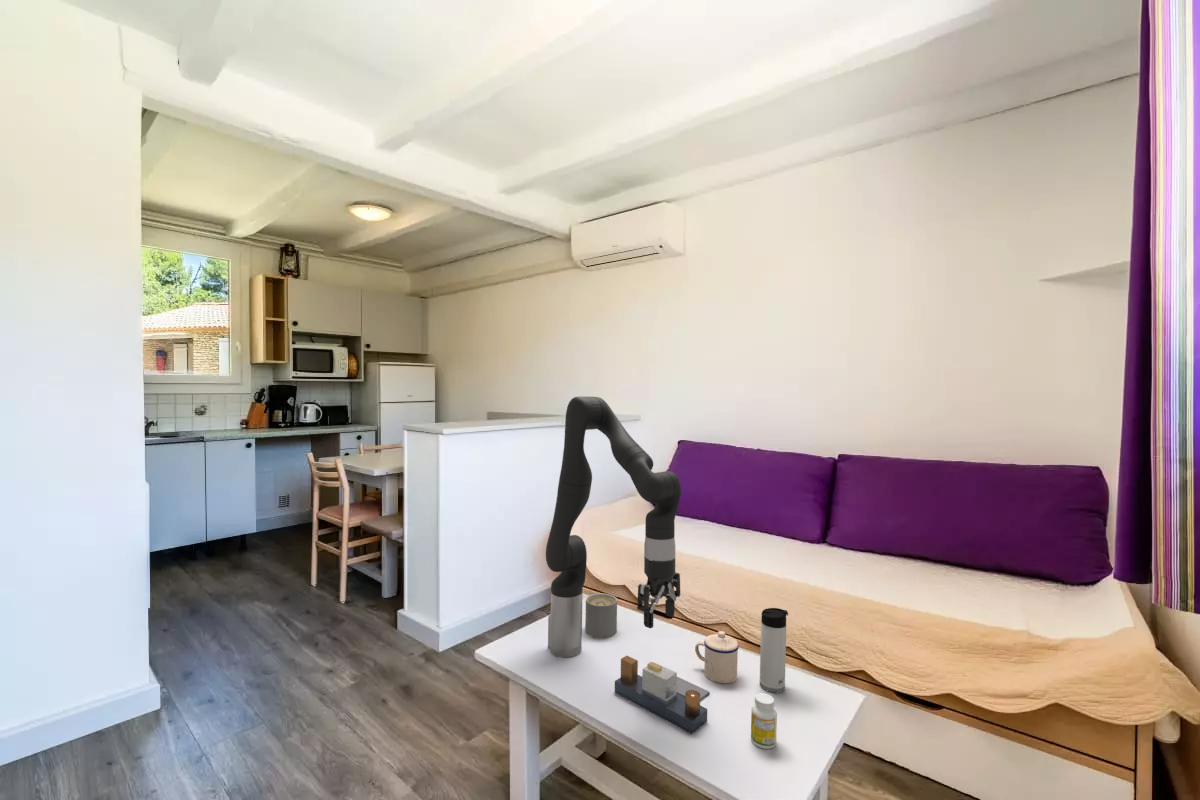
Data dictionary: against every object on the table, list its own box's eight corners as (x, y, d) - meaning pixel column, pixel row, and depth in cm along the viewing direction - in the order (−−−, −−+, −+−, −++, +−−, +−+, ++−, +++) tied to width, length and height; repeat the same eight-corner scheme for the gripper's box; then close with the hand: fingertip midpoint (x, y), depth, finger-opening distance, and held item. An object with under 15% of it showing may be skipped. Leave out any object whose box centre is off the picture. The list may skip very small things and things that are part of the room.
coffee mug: (601, 641, 160) (601, 608, 160) (578, 630, 167) (579, 599, 167) (630, 627, 170) (630, 596, 169) (607, 617, 176) (608, 588, 176)
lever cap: (642, 688, 128) (642, 665, 128) (653, 681, 132) (653, 658, 131) (665, 701, 124) (666, 676, 123) (676, 693, 127) (676, 669, 127)
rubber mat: (657, 684, 137) (657, 682, 137) (670, 675, 141) (670, 673, 141) (696, 704, 129) (696, 701, 129) (709, 693, 133) (709, 691, 133)
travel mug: (787, 694, 134) (789, 616, 133) (760, 691, 135) (762, 614, 134) (784, 681, 140) (786, 606, 139) (758, 678, 141) (760, 604, 140)
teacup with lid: (742, 673, 143) (743, 630, 143) (730, 688, 136) (731, 643, 136) (701, 659, 150) (702, 619, 150) (688, 673, 143) (688, 630, 143)
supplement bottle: (770, 753, 112) (771, 708, 112) (746, 742, 115) (747, 698, 115) (780, 740, 116) (781, 697, 116) (756, 730, 119) (757, 688, 119)
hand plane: (614, 692, 133) (615, 661, 133) (630, 682, 138) (631, 652, 138) (691, 734, 117) (692, 699, 117) (707, 721, 122) (707, 687, 122)
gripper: (664, 545, 135) (664, 608, 135) (629, 558, 125) (628, 626, 125) (689, 551, 130) (688, 616, 130) (654, 565, 120) (654, 636, 120)
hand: (659, 621), depth 128 cm, fingers open, 8 cm apart
